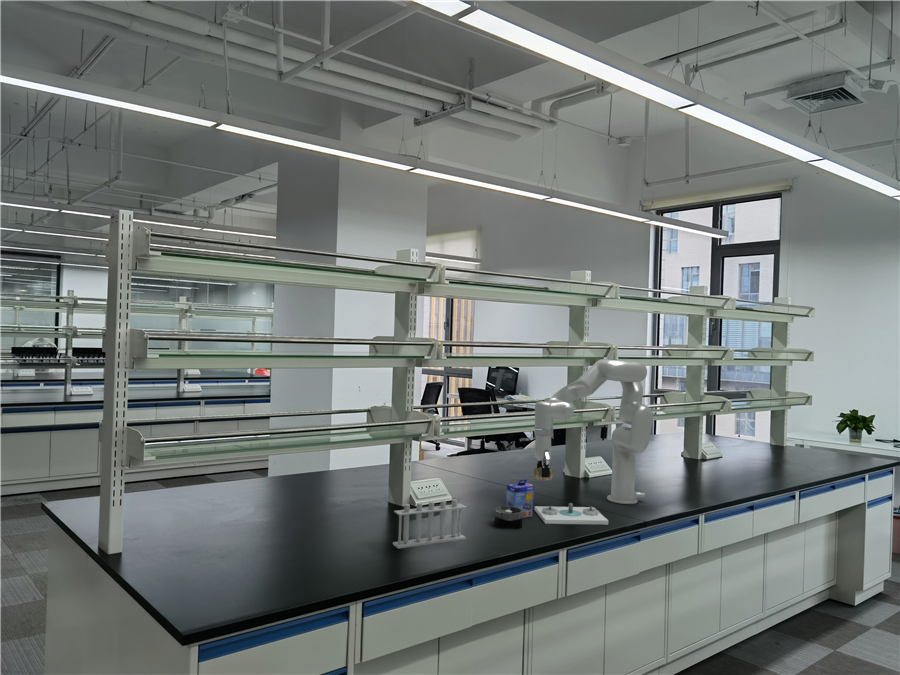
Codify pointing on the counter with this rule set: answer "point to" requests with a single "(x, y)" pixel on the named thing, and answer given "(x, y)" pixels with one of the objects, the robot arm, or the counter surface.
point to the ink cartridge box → (521, 497)
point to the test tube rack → (429, 524)
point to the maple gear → (538, 474)
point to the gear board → (570, 515)
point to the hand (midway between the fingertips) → (543, 474)
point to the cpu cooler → (508, 517)
